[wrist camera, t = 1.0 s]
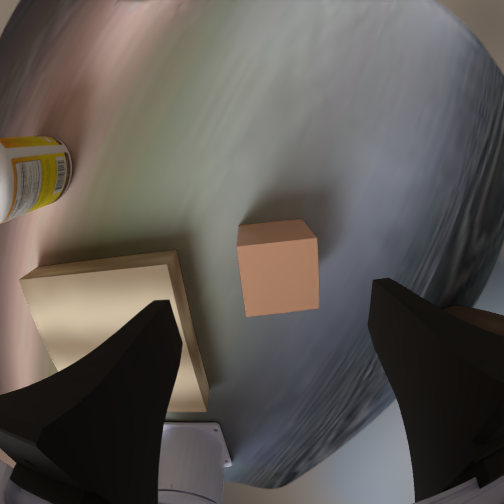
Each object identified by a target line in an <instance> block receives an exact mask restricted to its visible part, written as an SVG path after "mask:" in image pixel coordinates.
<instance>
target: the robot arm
mask: <svg viewBox="0 0 504 504" xmlns="http://www.w3.org/2000/svg"><path fill="white" fill-rule="evenodd" d="M368 328H369V332H370V335H371V339H372V342H373V345H374V348H375V350H376V353H377V355H378V357H379V359H380V362H381V364H382V366H383V368H384V371H385V373H386V375H387V377H388V380H389V382H390V384H391V386H392V389H393V391H394V393H395V396H396V398H397V401H398V404H399V407H400V411H401V415H402V418H403V422H404V426H405V430H406V435H407V439H408V444H409V450H410V456H411V462H412V468H413V478H414V490H415V503H413V504H504V336H502V335H499V334H496V333H493V332H490V331H487V330H484V329H482V328H479V327H477V326H475V325H472V324H470V323H468V322H466V321H463V320H461V319H459V318H457V317H455V316H453V315H451V314H450V313H448V312H446V311H444V310H442V309H440V308H439V307H437V306H435V305H434V304H432V303H430V302H428V301H427V300H425V299H424V298H422V297H420V296H419V295H417V294H415V293H414V292H412V291H411V290H409V289H407V288H406V287H404V286H402V285H401V284H399V283H397V282H396V281H394V280H392V279H390V278H383V279H376V280H373V284H372V294H371V303H370V312H369V320H368ZM182 346H183V341H182V338H181V335H180V332H179V329H178V326H177V323H176V320H175V316H174V313H173V310H172V307H171V303H170V300H169V299H168V300H154V301H152V302H151V303H150V304H148V305H147V306H146V307H145V308H143V309H142V310H141V311H140V312H139V313H138V314H136V315H135V316H134V317H133V318H132V319H131V320H129V321H128V322H127V323H126V324H125V325H124V326H123V327H121V328H120V329H119V330H118V331H117V332H115V333H114V334H113V335H112V336H110V337H109V338H108V339H107V340H105V341H104V342H103V343H102V344H101V345H99V346H98V347H97V348H95V349H94V350H93V351H91V352H90V353H88V354H87V355H85V356H84V357H82V358H81V359H79V360H78V361H76V362H75V363H73V364H72V365H70V366H68V367H66V368H64V369H63V370H61V371H59V372H57V373H55V374H53V375H52V376H50V377H48V378H45V379H43V380H41V381H39V382H37V383H34V384H32V385H29V386H27V387H24V388H21V389H18V390H15V391H12V392H9V393H6V394H2V395H0V448H1V449H2V450H3V451H4V452H5V453H6V454H7V455H8V456H9V457H11V458H12V459H13V460H14V461H15V462H16V465H15V467H14V468H12V467H11V466H9V465H8V464H6V463H4V462H3V461H1V460H0V504H222V501H223V481H224V467H228V466H232V461H231V458H230V455H229V452H228V449H227V446H226V443H225V440H224V437H223V434H222V431H221V428H220V425H219V424H218V423H174V422H165V417H166V413H167V409H168V406H169V402H170V399H171V395H172V392H173V388H174V385H175V381H176V378H177V374H178V370H179V367H180V361H181V354H182Z"/></svg>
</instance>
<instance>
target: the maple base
mask: <svg viewBox="0 0 504 504" xmlns="http://www.w3.org/2000/svg"><path fill="white" fill-rule="evenodd" d="M19 281H20V284H21V287H22V290H23V293H24V296H25V298H26V301H27V304H28V306H29V309H30V311H31V314H32V316H33V319H34V321H35V324H36V326H37V328H38V331H39V333H40V335H41V337H42V340H43V342H44V344H45V346H46V348H47V350H48V352H49V354H50V356H51V358H52V360H53V362H54V364H55V366H56V368H57V370H58V372H59V371H61V370H63V369H64V368H66V367H68V366H70V365H72V364H73V363H75V362H76V361H78V360H79V359H81V358H82V357H84V356H85V355H87V354H88V353H90V352H91V351H93V350H94V349H95V348H97V347H98V346H99V345H101V344H102V343H103V342H104V341H105V340H107V339H108V338H109V337H110V336H112V335H113V334H114V333H115V332H117V331H118V330H119V329H120V328H121V327H123V326H124V325H125V324H126V323H127V322H128V321H129V320H131V319H132V318H133V317H134V316H135V315H136V314H138V313H139V312H140V311H141V310H142V309H143V308H145V307H146V306H147V305H148V304H150V303H151V302H152V301H154V300H168V299H169V300H170V303H171V307H172V310H173V313H174V316H175V320H176V323H177V326H178V329H179V332H180V335H181V338H182V341H183V346H182V354H181V361H180V367H179V370H178V374H177V378H176V381H175V385H174V388H173V392H172V395H171V399H170V402H169V406H168V409H167V412H207V406H208V399H209V391H210V388H209V385H208V381H207V378H206V374H205V370H204V367H203V363H202V359H201V355H200V351H199V347H198V343H197V339H196V335H195V331H194V327H193V323H192V319H191V315H190V310H189V306H188V301H187V297H186V292H185V288H184V283H183V278H182V273H181V269H180V264H179V259H178V253H177V250H170V251H162V252H153V253H145V254H137V255H128V256H120V257H112V258H104V259H96V260H88V261H80V262H72V263H64V264H57V265H49V266H41V267H37V268H35V269H34V270H32V271H31V272H30V273H28V274H27V275H25V276H24V277H22V278H21V279H20V280H19Z"/></svg>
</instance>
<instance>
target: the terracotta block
mask: <svg viewBox="0 0 504 504" xmlns="http://www.w3.org/2000/svg"><path fill="white" fill-rule="evenodd" d="M237 253H238V261H239V268H240V276H241V283H242V290H243V298H244V305H245V312H246V317H251V316H260V315H269V314H278V313H287V312H295V311H303V310H310V309H318V308H319V272H318V244H317V237H316V236H315V235H314V233H313V232H312V231H311V230H310V228H309V227H308V226H307V225H306V223H305V222H304V221H303V220H302V219H294V220H285V221H275V222H265V223H256V224H247V225H239V227H238V238H237Z"/></svg>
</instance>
